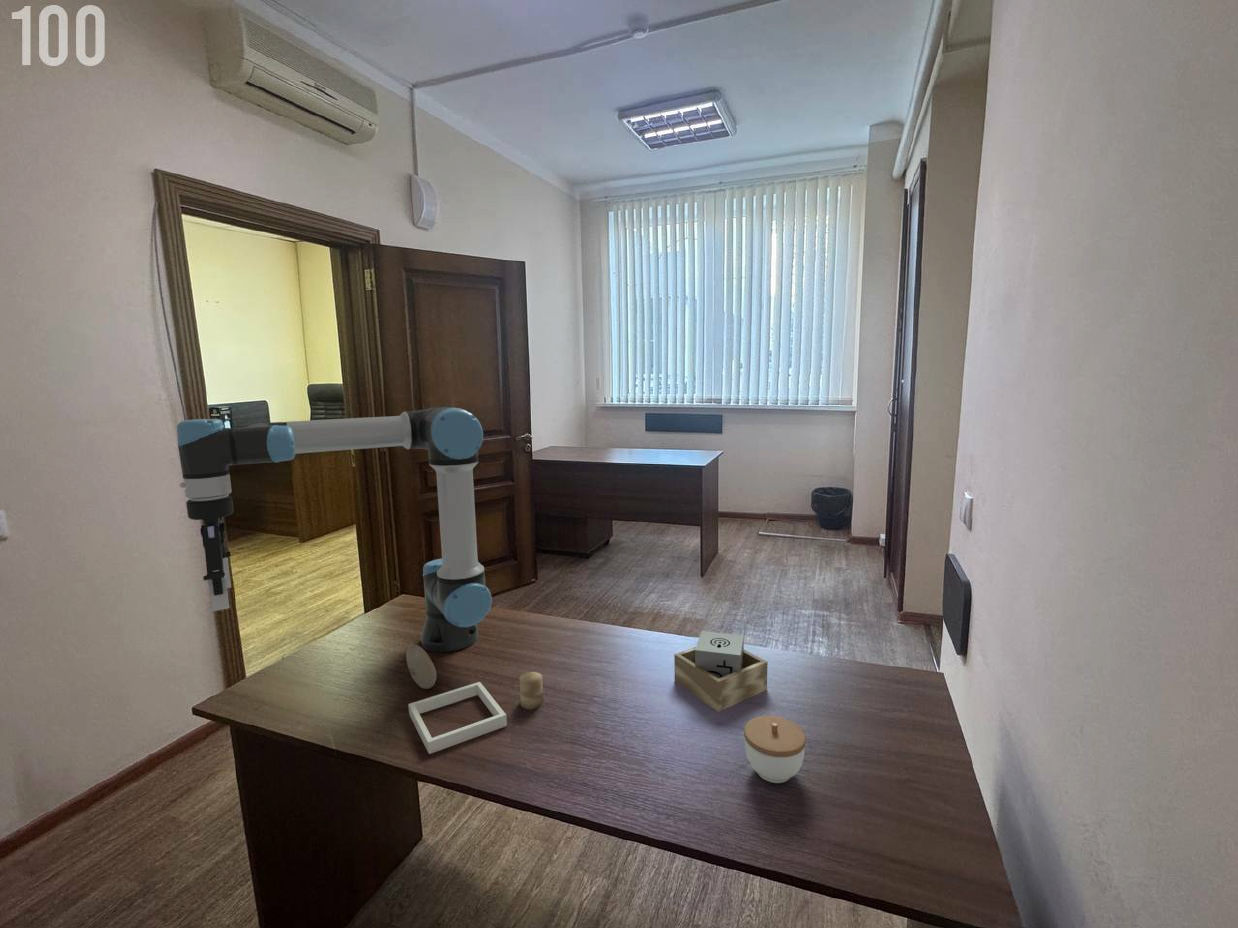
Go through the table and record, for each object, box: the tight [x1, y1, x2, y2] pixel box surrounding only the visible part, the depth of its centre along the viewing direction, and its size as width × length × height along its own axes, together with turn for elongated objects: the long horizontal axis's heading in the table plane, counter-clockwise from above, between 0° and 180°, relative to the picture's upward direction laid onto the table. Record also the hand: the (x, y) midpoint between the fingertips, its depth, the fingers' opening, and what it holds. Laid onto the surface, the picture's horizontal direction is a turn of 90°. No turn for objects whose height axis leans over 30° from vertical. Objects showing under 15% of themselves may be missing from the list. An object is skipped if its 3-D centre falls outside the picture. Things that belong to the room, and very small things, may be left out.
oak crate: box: [673, 646, 769, 713], centre depth 132 cm, size 15×15×7 cm
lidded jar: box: [743, 715, 807, 784], centre depth 103 cm, size 11×11×9 cm
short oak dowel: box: [519, 671, 544, 710], centre depth 127 cm, size 5×5×6 cm
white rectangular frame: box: [407, 681, 508, 755], centre depth 121 cm, size 16×16×2 cm
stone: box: [405, 644, 438, 690], centre depth 132 cm, size 6×6×12 cm
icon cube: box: [695, 630, 745, 678], centre depth 132 cm, size 10×10×10 cm
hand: (222, 598), depth 117 cm, fingers open, 13 cm apart
